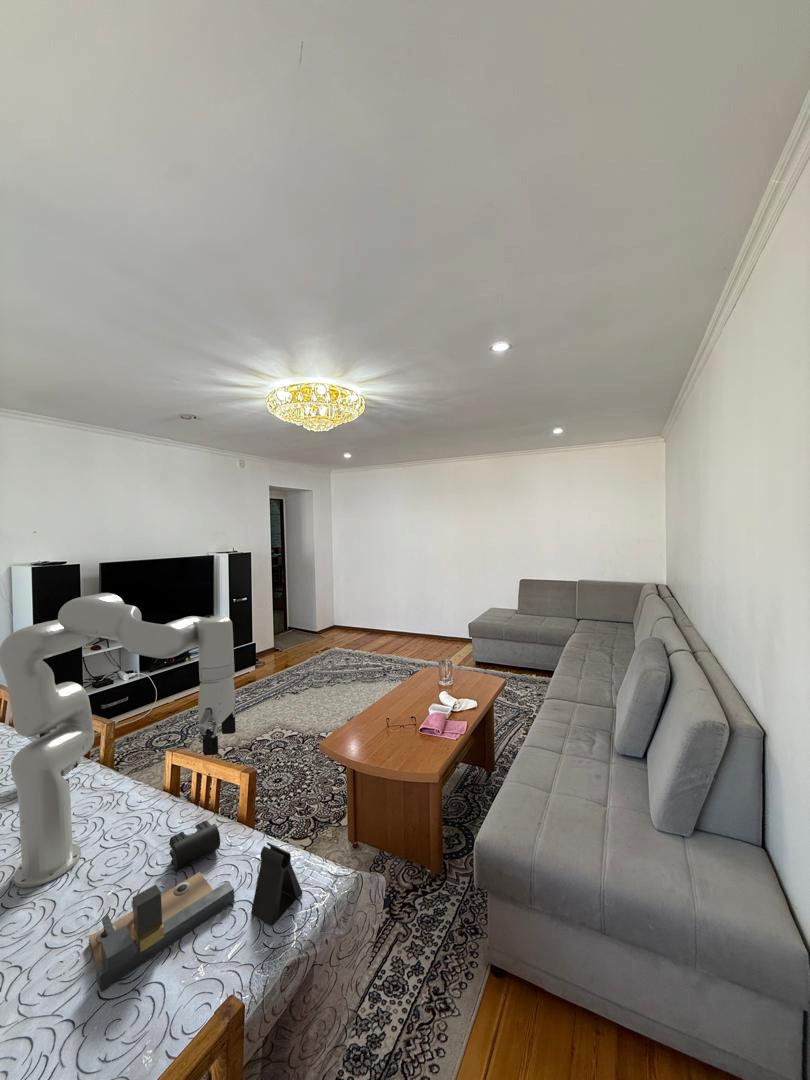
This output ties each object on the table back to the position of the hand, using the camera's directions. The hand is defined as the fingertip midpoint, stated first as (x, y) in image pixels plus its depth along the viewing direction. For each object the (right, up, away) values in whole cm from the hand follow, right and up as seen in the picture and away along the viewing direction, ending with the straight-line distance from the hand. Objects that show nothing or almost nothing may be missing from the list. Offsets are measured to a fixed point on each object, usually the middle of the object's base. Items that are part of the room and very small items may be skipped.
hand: (220, 743), depth 99 cm
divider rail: (-5, -31, -13) cm, 34 cm away
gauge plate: (-9, -31, -11) cm, 34 cm away
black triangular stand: (+16, -31, -8) cm, 36 cm away
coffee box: (-73, -33, +44) cm, 92 cm away
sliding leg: (-8, -29, -16) cm, 34 cm away
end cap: (-8, -31, +5) cm, 33 cm away
